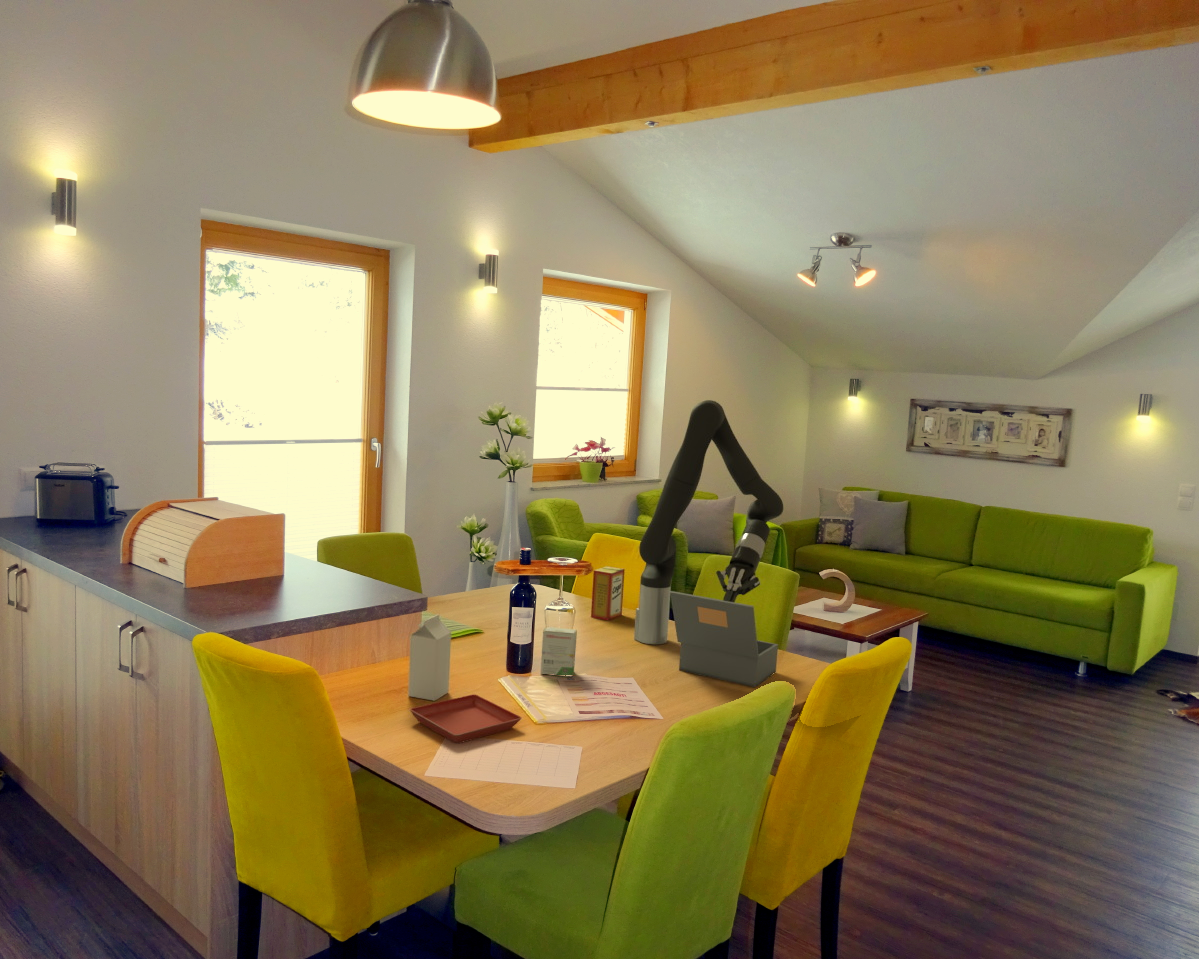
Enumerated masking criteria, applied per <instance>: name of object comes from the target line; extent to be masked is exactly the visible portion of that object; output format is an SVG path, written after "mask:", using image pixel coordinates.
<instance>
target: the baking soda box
mask: <svg viewBox="0 0 1199 959" xmlns="http://www.w3.org/2000/svg"><path fill="white" fill-rule="evenodd" d="M592 579H593V580H592V590H591V591H592V595H591V607H590V608H591V611H590V613H591V614H590V618H593V619H596V620H597V619H598V620H604V621H610V620H614V619H616V618H619V617H621V616H622V614H623V603H624V602H623V601H624V600H623V599H624V586H625V585H624V584H625V582H624V581H625V568H621V567H620V568H619V567H613V566H608V565H607V566H604V567H601V568H597V569H594V570H593V578H592Z"/></svg>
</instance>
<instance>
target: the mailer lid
mask: <svg viewBox="0 0 1199 959" xmlns="http://www.w3.org/2000/svg"><path fill="white" fill-rule="evenodd" d="M670 602H671V606H672V607H671V608H672V613H673V614H672V615H673V622H674V626H675V627H674V628H675V632H676V639H677V640H676V641H677V642H678V643H680V644H681V643H685V644H690V645H695V646H699V647H704V648H709V649H714V650H718V651H723V652H728V653H733V654H737V655H742V656H747V657H752V658H756V659H758V658H759V655H758V645H757V640H758V637H757V627H756V617H755V608H754V605H749V604H745V603H739V602H736V601H735V602H729V601H723V600H722V599H718V598H713V597H712V598H711V597H707V596H700V595H695V594H690V593H683V592H678V591H672V590H671V591H670Z"/></svg>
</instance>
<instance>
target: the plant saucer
mask: <svg viewBox="0 0 1199 959" xmlns="http://www.w3.org/2000/svg"><path fill="white" fill-rule="evenodd" d="M409 711H410V712H411V714H412V716H414V718H415V719H416V720H417V721H418V722H419V723H420V724H422V725H423V726H425V727H427V728H428V729H431V731H434V732H435V733H437V734H439V735H441V736H443V737H444V738H446V739H447V738H448V740H449V739H450V741H451V742H453V743H455V744H460V742H461V743H464V742H463V741H465V742H468V741H470V739H472V740H475V738H476V739H479V738H482V737H486V736H490V735H493V734H497V733H501V732H505V731H509V730H510V729H512V728H513V727H515V726H516V725H517V724H518V723H519V722H520V721H521V720H522V716H520V715H519V714H516V713H514V712H513V711H510V710H508V709H506V708H504V707H502V706H500V705H498V704H496V703H495V702H493V701H490V700H488V699H487V698H484V697H482V696H480V695H478V694H474V693H473V694H469V695H463V696H461V697H460V696H459V697H456V698H451V699H446V700H442V701H438V702H433V703H429V704H428V703H427V704H423V705H419V706H416V707H412V708H410V709H409ZM467 740H468V741H467Z"/></svg>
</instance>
